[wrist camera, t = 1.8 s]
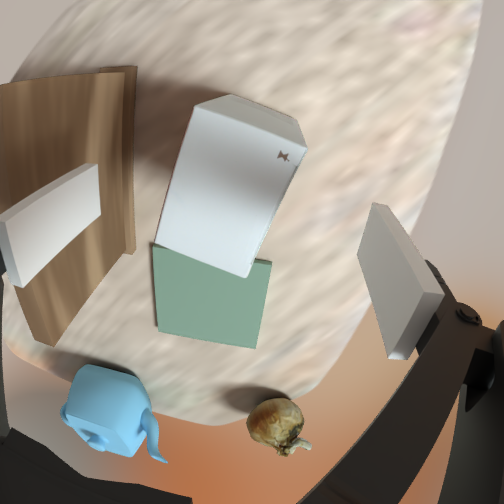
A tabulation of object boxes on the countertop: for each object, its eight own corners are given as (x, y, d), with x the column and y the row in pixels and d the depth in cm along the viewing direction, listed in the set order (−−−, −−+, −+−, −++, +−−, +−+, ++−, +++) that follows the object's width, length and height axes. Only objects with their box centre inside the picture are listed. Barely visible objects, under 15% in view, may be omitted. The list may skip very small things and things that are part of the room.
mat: (160, 327, 34) (158, 331, 34) (154, 243, 29) (152, 246, 28) (255, 344, 34) (255, 348, 34) (271, 261, 29) (271, 265, 28)
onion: (291, 381, 37) (289, 436, 30) (313, 410, 41) (314, 458, 34) (238, 394, 40) (231, 445, 33) (265, 420, 43) (261, 466, 36)
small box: (230, 92, 22) (193, 99, 13) (299, 120, 22) (311, 145, 13) (196, 183, 26) (149, 244, 17) (259, 208, 26) (245, 282, 17)
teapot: (188, 420, 45) (173, 481, 35) (91, 396, 46) (67, 447, 36) (180, 376, 39) (158, 450, 29) (68, 349, 40) (34, 407, 30)
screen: (109, 245, 29) (30, 342, 17) (106, 68, 21) (-24, 81, 9) (136, 249, 29) (62, 354, 17) (137, 66, 21) (11, 71, 9)
